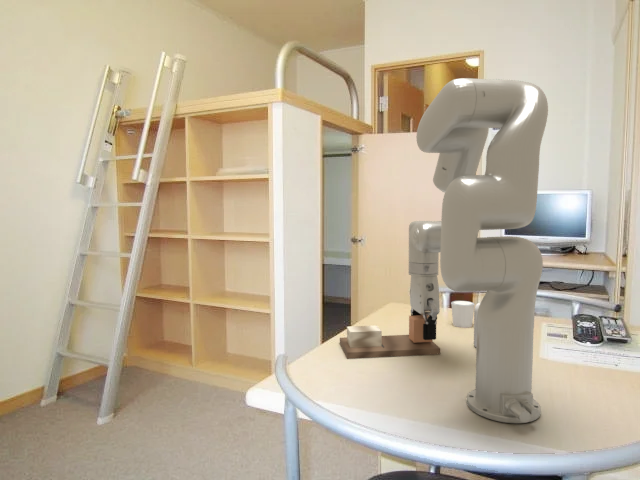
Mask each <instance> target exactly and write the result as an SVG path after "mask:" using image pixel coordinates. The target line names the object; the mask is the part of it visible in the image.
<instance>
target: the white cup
mask: <svg viewBox="0 0 640 480" xmlns="http://www.w3.org/2000/svg"><path fill="white" fill-rule="evenodd" d="M450 304H451V316H452V326H453V327H457V328H464V329H467V328H471V327H473V323H474V309H475V306H476V304H475V302H472V301H469V300H468V301H467V300H453V301H451V302H450Z"/></svg>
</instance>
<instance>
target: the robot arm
mask: <svg viewBox="0 0 640 480" xmlns="http://www.w3.org/2000/svg"><path fill="white" fill-rule="evenodd" d="M548 113H549V103H548V98H547V96H546V94H545V92H544V91H543V89H541V87H540V86H538V85H537V84H536V83H535V84H534V83H532V82H528V81H523V80H515V79H514V80H513V79H499V78H498V79H497V78H470V77H464V78H463V77H461V78H454V79H452V80H450V81H449V82H447V83H446V84H445V85H444V86H443V87H442V88H441V90H439V92H438V93H437V95H436V96H435V97H434V98H433V100H432V101H431V102H430V104H429V105H428V106H427V107H426V110H425V111H424V113H423V115H422V117H421V118H420V121H419V123H418V126H417V129H416V144H417V146H418V148H419V150H420V151H421V152H424V153H429V154H438V158H437V162H436V166H435V171H434V174H433V179H432V181H433V185H434V186H435V187H436V188H437V189H438V190H439V191H441V192H442V193H444V194H443V198H442V205H441V220H437V221H435V220H434V221H433V220H416V221H412V222H409V223H410V224H409V225H408V275H410V283H409V284H410V285H409V286H410V287H409V305H410V316H416V315H423V318H424V322H425V324H423V339H424V340H434V341H435V340H436V339H437V322H438V321H437V320H438V315H439V314H440V310H441V309H440V288H439V279H438V276H439V267H440V274H441V278H442V281H443V283H444V284H445V286H446V287H447V288H448V289H450V290H452V291H454V292H458V293H472V292H474V293H475V292H485V294H484V295H483V298H482V299H481V300H480V302H479V303H480V306H479V309H478V315H477V347H475V348H476V349H475V350H476V352H475V353H476V355H475V356H476V357H475V358H476V359H475V360H476V361H475V389H473V390H471V391H469V392H468V393H467V395H466V405H467V406H468V407H469V409H470V410H471V411H472V412H473V413H475V414H477V415H479V416H481V417H483V418H486V419H489V420H492V421H494V422H495V421H496V422H500V423H507V424H526V423H531V422H534V421H536V420H537V419H538V418H540V416H541V412H542V408H541V407H542V406H541V404H539V402H538V401H537V400H536V399H534V394H533V393H532V390H533V389H532V388H533V357H534V354H533V353H534V332H535V329H534V328H535V313H536V311H535V310H536V301H537V295H538V289H539V286H540V282H541V278H542V275H543V274H542V273H543V265H544V262H543V261H544V260H543V255H542V253H541V250H540V249H539V247H538V246H537V245H536V244H535V243H534V242H533V241H531V240H529V239H527V238H525V237H520V236H511V235H510V236H506V235H505V236H487V237H479V232H480V231H487V230H488V231H491V230H516V229H521V228H524V227H526V226H528V225H530V224H531V223H532V222H533V220H534V218H535V214H536V211H537V202H538V201H537V200H538V187H539V174H540V151H541V145H542V141H543V136H544V134H545V129H546V126H547V122H548V116H549V114H548ZM489 129H499V130H498V131H497V132H496V134H495V135H494V136H493V137H492V139H491V141H490V142H489V145H488V147H487V150H486V156H485V161H486V162H485V172H484V174H478V175H477V172H478V171H477V170H478V168H479V165H480V162H481V159H482V155H483V152H484V149H485V145H486V142H487V138H488V135H489ZM439 257H440V259H439ZM439 265H440V266H439ZM427 316H429V317H428V319H427Z"/></svg>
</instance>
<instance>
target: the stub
mask: <svg viewBox="0 0 640 480" xmlns="http://www.w3.org/2000/svg"><path fill="white" fill-rule="evenodd" d="M428 317H429V316H427V319H428ZM423 324H425V322H424V318H423V315H416V316H411V315H408V335H409V338H410V339H411V340H412V341H413V342H414V343H417V342H434V341H433V340H424V339H423Z"/></svg>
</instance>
